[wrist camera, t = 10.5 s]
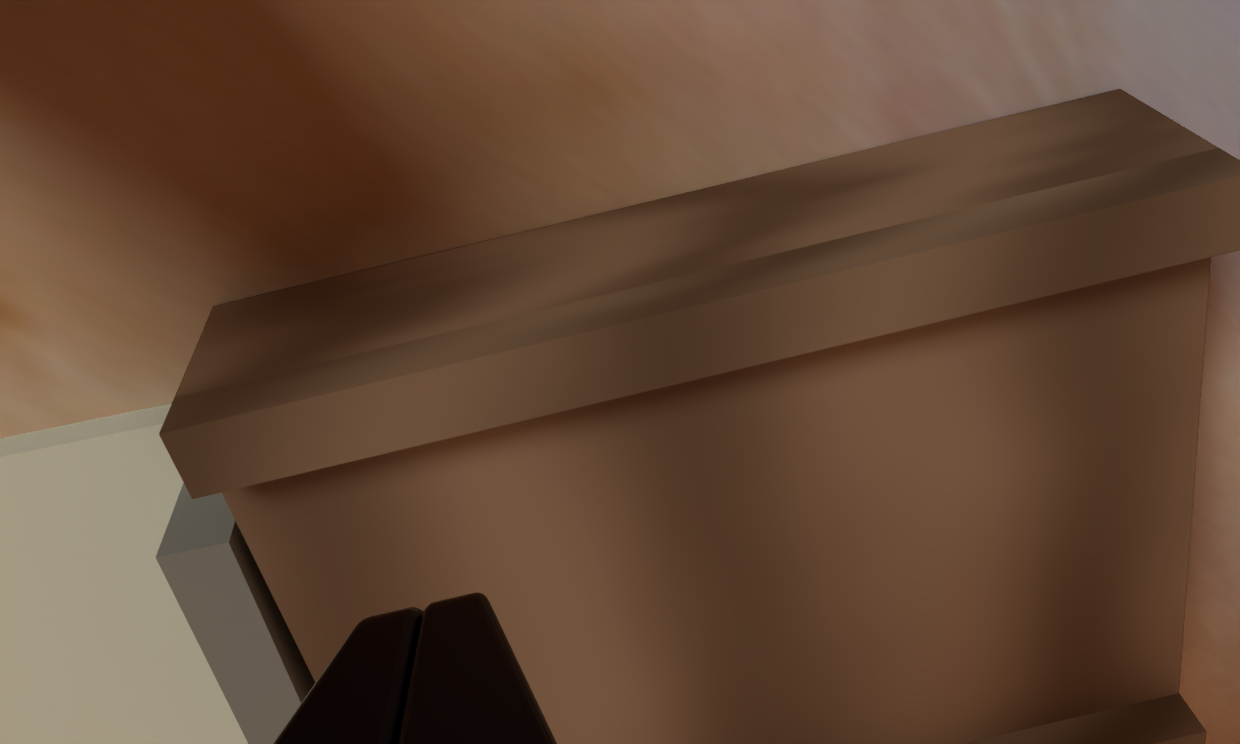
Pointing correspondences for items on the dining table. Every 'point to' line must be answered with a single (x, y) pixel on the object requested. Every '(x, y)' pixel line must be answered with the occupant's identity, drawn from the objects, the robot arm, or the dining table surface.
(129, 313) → the dining table surface
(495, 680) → the robot arm
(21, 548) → the cover plate
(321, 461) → the walnut box
